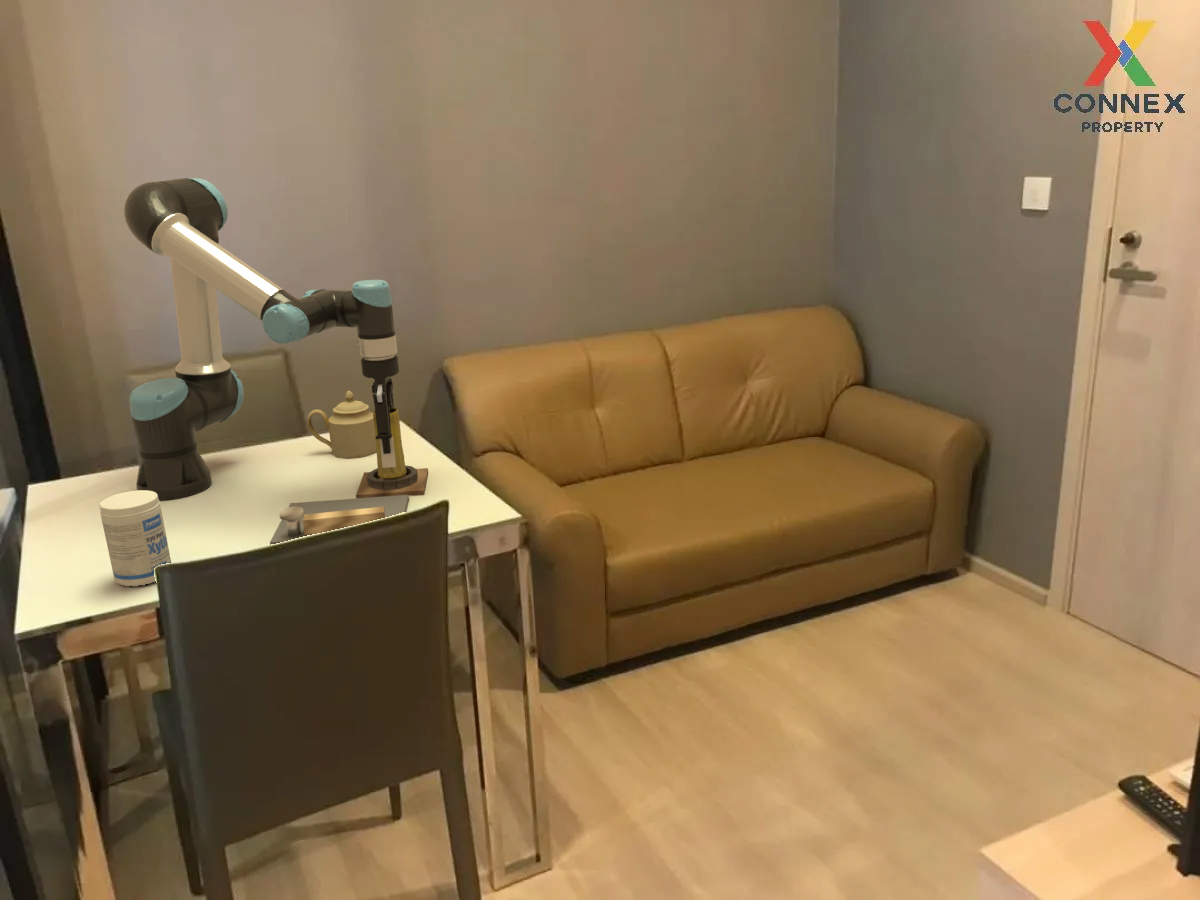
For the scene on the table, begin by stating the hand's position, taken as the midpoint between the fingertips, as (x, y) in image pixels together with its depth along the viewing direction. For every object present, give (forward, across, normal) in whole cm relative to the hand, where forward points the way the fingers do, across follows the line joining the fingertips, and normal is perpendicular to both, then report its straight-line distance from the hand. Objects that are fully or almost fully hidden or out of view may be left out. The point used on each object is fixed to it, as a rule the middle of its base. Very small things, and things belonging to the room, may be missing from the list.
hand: (390, 461), depth 215 cm
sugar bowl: (+6, -25, -13) cm, 29 cm away
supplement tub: (+6, +38, -40) cm, 55 cm away
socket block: (+5, 0, 0) cm, 5 cm away
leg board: (+5, +19, -8) cm, 21 cm away
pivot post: (+5, +26, -16) cm, 31 cm away
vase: (+3, 0, 0) cm, 3 cm away
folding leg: (+4, +25, -9) cm, 27 cm away
